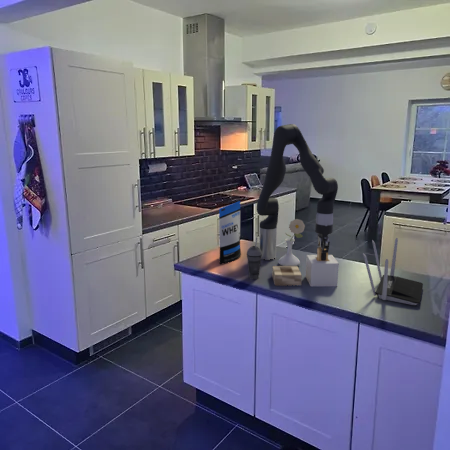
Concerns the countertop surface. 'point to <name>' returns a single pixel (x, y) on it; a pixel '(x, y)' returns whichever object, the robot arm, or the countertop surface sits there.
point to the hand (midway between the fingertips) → (322, 258)
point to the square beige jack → (286, 275)
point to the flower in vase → (289, 258)
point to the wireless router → (394, 283)
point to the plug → (320, 254)
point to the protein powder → (229, 233)
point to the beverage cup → (254, 261)
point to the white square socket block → (322, 271)
